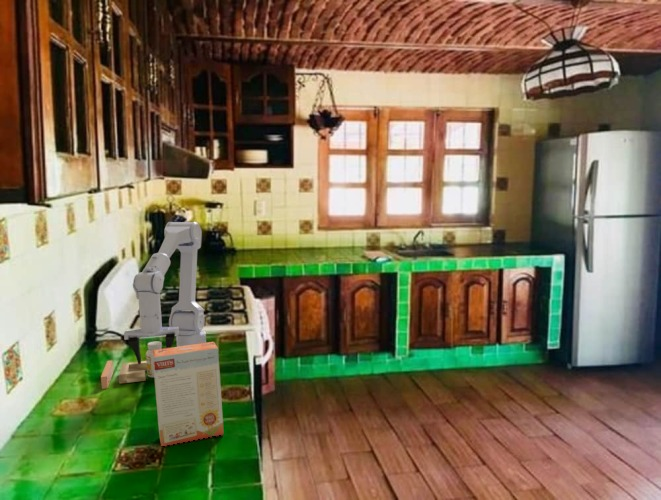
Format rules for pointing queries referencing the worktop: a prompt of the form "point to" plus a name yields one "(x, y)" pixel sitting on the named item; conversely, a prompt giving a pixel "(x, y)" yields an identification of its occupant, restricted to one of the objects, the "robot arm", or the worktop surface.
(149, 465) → the worktop surface
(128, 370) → the slot block
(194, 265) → the robot arm
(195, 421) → the cracker box
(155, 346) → the supplement bottle
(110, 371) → the rail
